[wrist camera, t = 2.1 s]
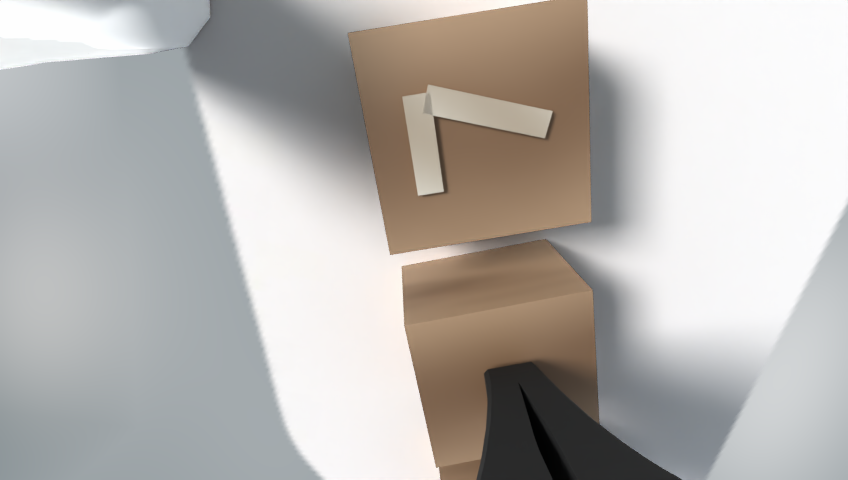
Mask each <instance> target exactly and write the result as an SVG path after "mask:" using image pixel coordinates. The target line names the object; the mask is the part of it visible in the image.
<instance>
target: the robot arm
mask: <svg viewBox="0 0 848 480" xmlns="http://www.w3.org/2000/svg"><path fill="white" fill-rule="evenodd" d="M484 379H485V386H486V393H487V419H486V431H485V437H484V444H483V451H482V456H481V461H480V466H479V471H478V475H477V479H476V480H682V479H680V478H678V477H677V476H675V475H673V474H671V473H670V472H668V471H666V470H664V469H663V468H661V467H659V466H658V465H656V464H654V463H653V462H651V461H650V460H648V459H647V458H645V457H643V456H642V455H641V454H639V453H638V452H636V451H635V450H633V449H632V448H630V447H629V446H627V445H626V444H625V443H623V442H622V441H620V440H619V439H618V438H616V437H615V436H614V435H612V434H611V433H610V432H609V431H607V430H606V429H605V428H603V427H602V426H601V425H600V424H598V423H597V422H596V421H595V420H593V419H592V418H591V417H590V416H589V415H587V414H586V413H585V412H584V411H583V410H582V409H581V408H579V407H578V406H577V405H576V404H575V403H574V402H573V401H572V400H570V399H569V398H568V397H567V396H566V395H565V394H564V393H563V392H562V391H561V390H560V389H559V388H558V387H557V386H556V385H555V384H554V383H553V382H552V381H551V380H550V379H549V378H548V377H547V376H546V375H545V374H544V373H543V372H542V371H541V370H540V369H539V368H538V367H537V366H536V365H535V364H534V363H533V362H526V363H521V364H515V365H509V366H504V367H498V368H492V369H487V370H486V372H485V373H484Z"/></svg>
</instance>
